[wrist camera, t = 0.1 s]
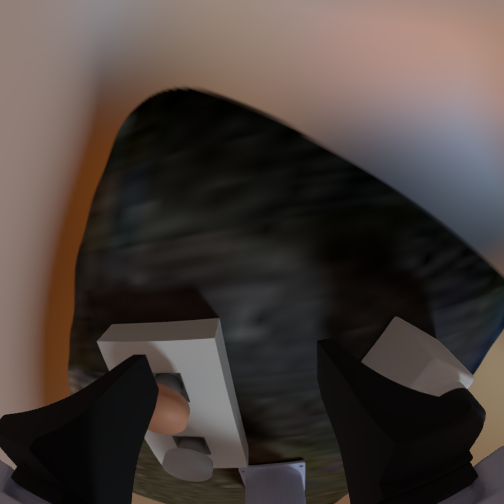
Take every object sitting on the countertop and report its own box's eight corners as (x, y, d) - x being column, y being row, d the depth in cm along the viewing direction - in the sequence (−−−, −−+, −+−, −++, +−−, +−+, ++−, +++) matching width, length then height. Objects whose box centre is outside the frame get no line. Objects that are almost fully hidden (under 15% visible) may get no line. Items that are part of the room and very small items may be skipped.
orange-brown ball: (201, 402, 20) (194, 435, 17) (152, 401, 21) (139, 432, 17) (187, 361, 19) (176, 394, 16) (135, 361, 19) (117, 391, 16)
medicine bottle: (346, 376, 23) (390, 480, 11) (394, 313, 21) (474, 402, 9) (394, 392, 23) (441, 476, 12) (437, 339, 22) (507, 412, 10)
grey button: (219, 453, 22) (216, 482, 19) (177, 452, 22) (171, 479, 19) (210, 427, 21) (205, 459, 18) (164, 426, 21) (154, 455, 18)
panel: (248, 446, 25) (248, 467, 22) (166, 445, 25) (161, 464, 23) (219, 317, 21) (214, 338, 18) (112, 324, 21) (96, 341, 18)
